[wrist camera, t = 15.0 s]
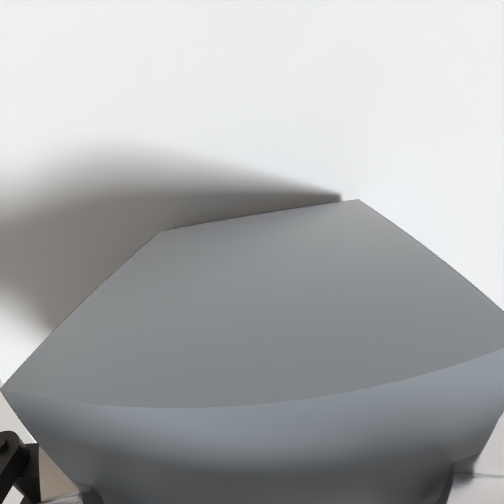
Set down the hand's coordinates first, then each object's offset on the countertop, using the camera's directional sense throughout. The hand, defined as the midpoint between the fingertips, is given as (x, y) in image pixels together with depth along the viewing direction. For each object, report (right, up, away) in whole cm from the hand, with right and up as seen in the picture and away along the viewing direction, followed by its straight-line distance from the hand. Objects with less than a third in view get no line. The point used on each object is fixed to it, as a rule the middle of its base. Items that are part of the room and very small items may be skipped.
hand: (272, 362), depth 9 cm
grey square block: (0, +1, +3) cm, 4 cm away
